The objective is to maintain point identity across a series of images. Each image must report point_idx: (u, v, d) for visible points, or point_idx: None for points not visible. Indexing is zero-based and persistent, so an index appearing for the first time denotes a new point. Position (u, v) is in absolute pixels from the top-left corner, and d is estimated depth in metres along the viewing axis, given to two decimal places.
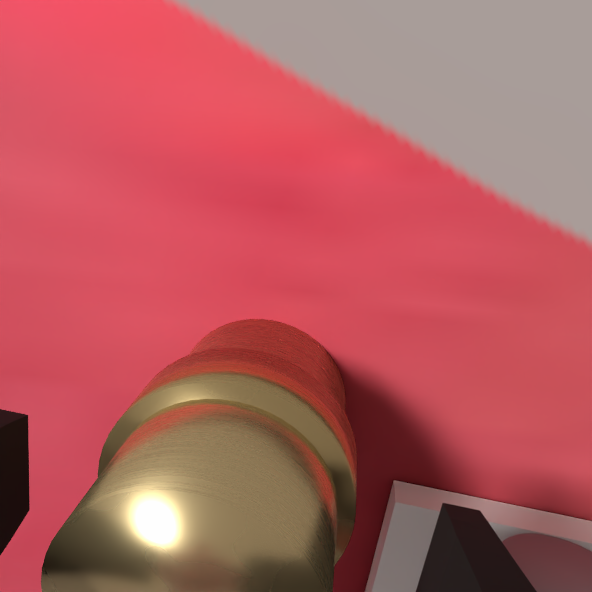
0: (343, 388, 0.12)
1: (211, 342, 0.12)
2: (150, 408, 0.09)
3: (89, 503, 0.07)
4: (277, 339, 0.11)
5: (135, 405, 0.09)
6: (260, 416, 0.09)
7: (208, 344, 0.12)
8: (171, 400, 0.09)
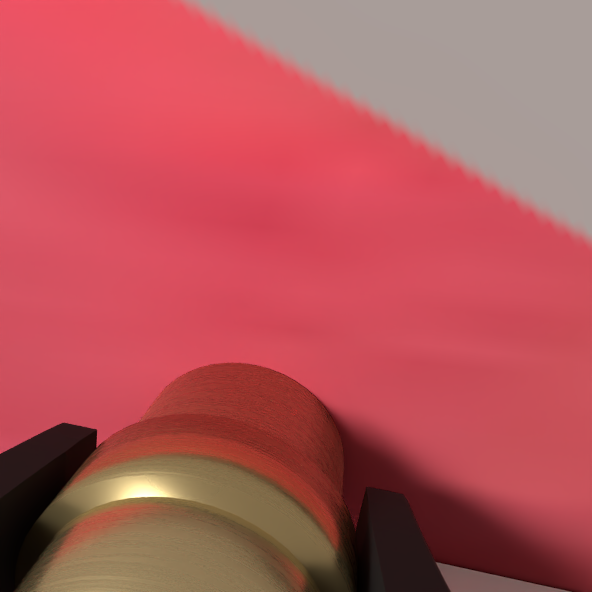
0: (341, 448, 0.10)
1: (174, 396, 0.09)
2: (78, 506, 0.07)
3: None
4: (257, 394, 0.09)
5: (58, 501, 0.07)
6: (224, 525, 0.06)
7: (171, 398, 0.09)
8: (105, 497, 0.07)
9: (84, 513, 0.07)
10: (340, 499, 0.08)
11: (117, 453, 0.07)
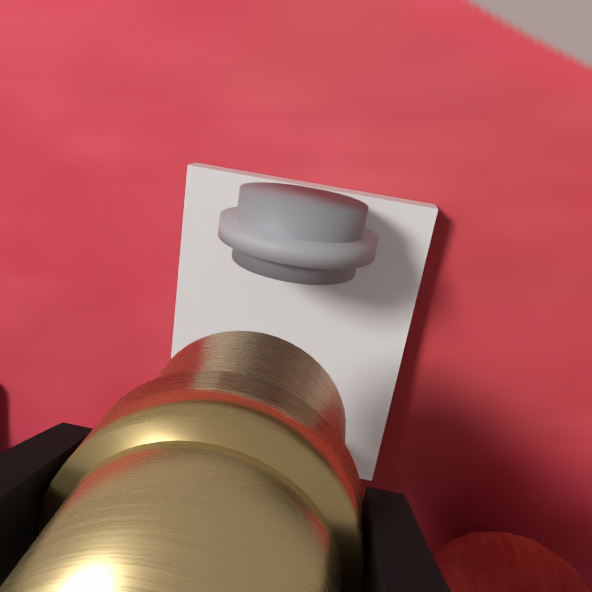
0: (341, 403, 0.10)
1: (176, 364, 0.10)
2: (91, 459, 0.07)
3: None
4: (254, 354, 0.09)
5: (72, 457, 0.07)
6: (227, 459, 0.07)
7: (173, 367, 0.10)
8: (115, 447, 0.07)
9: (97, 464, 0.07)
10: (339, 439, 0.08)
11: (124, 410, 0.08)
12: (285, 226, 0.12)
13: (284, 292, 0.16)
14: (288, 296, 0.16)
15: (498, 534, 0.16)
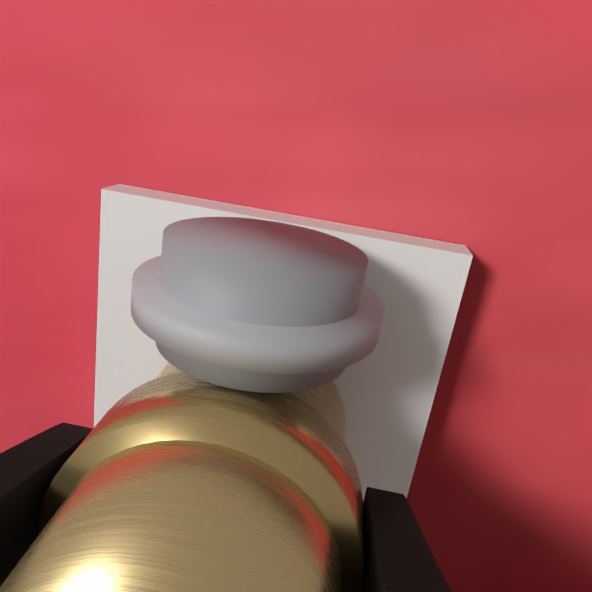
0: (341, 403, 0.10)
1: None
2: (91, 458, 0.07)
3: None
4: None
5: (72, 456, 0.07)
6: (227, 458, 0.07)
7: (173, 367, 0.10)
8: (115, 447, 0.07)
9: (97, 464, 0.07)
10: (339, 438, 0.08)
11: (124, 409, 0.08)
12: (228, 302, 0.07)
13: None
14: None
15: None
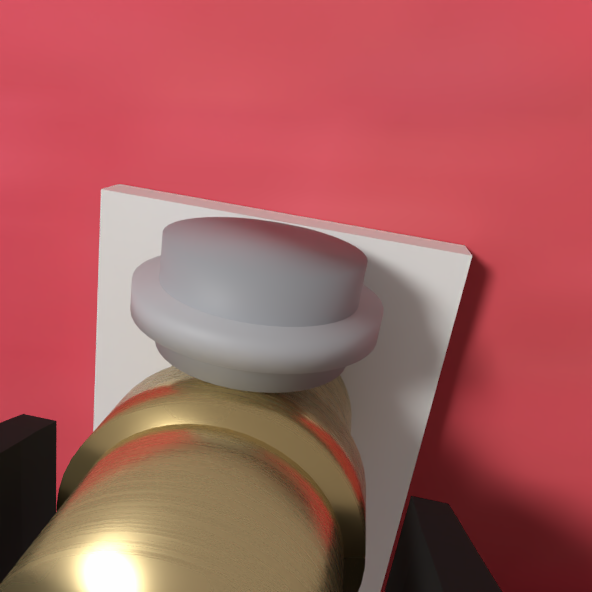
0: (346, 395, 0.11)
1: None
2: (107, 441, 0.08)
3: (12, 575, 0.05)
4: None
5: (89, 439, 0.08)
6: (235, 441, 0.07)
7: None
8: (129, 429, 0.07)
9: (112, 446, 0.07)
10: (343, 426, 0.09)
11: (138, 395, 0.08)
12: (227, 302, 0.07)
13: None
14: None
15: None
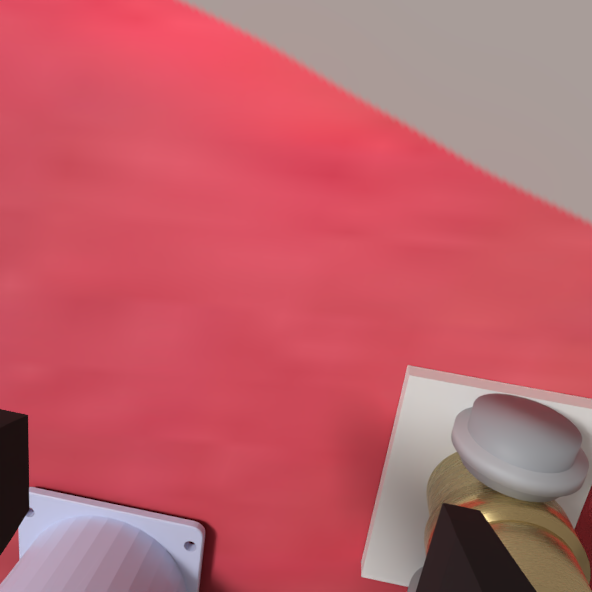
0: None
1: (461, 468, 0.18)
2: None
3: None
4: None
5: None
6: (537, 529, 0.15)
7: (460, 470, 0.18)
8: None
9: None
10: None
11: (471, 502, 0.16)
12: (530, 463, 0.15)
13: None
14: None
15: None
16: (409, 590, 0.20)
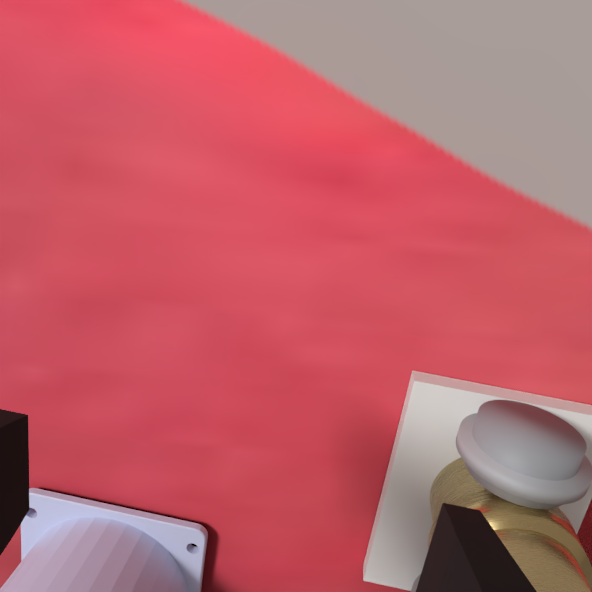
0: None
1: (465, 475, 0.18)
2: None
3: None
4: None
5: None
6: (541, 538, 0.15)
7: (463, 476, 0.18)
8: None
9: None
10: (569, 521, 0.17)
11: None
12: (535, 470, 0.16)
13: None
14: None
15: None
16: None
